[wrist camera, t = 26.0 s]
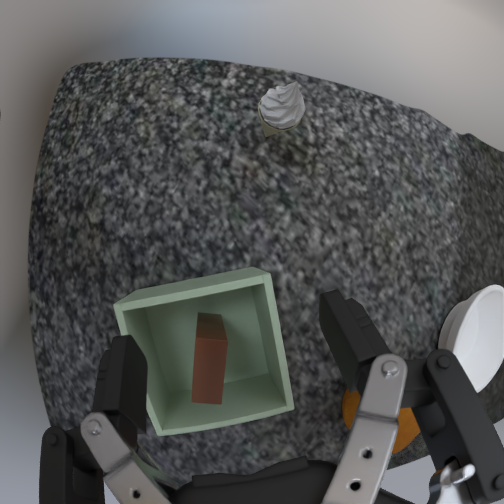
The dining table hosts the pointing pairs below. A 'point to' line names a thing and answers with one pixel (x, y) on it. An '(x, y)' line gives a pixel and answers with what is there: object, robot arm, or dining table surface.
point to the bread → (406, 420)
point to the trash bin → (183, 346)
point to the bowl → (477, 334)
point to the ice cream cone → (281, 109)
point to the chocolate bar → (209, 359)
